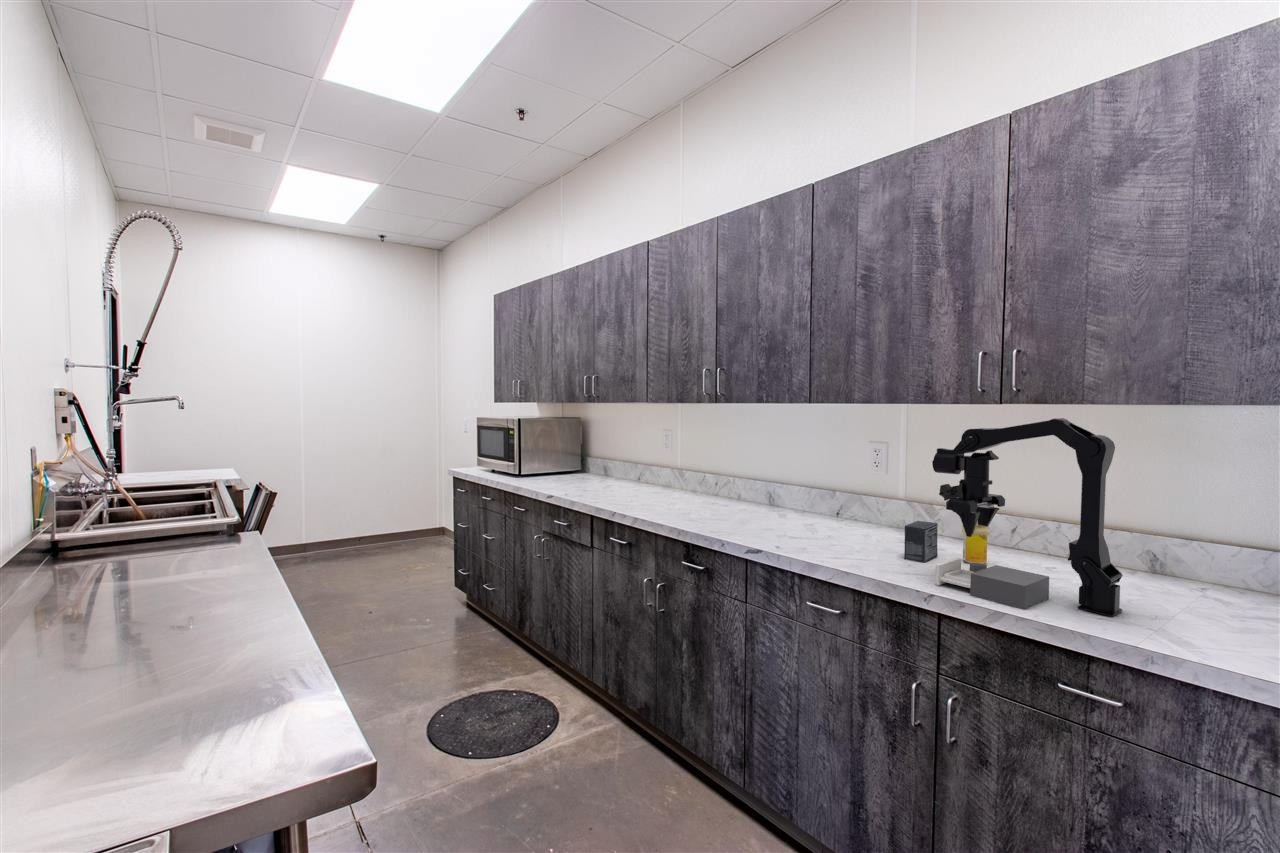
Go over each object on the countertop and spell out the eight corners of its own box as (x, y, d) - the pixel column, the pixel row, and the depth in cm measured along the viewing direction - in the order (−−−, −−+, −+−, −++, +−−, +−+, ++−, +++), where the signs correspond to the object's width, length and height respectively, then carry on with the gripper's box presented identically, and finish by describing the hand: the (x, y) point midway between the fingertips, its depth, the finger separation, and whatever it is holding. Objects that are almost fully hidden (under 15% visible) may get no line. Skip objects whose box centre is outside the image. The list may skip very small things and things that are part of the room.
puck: (989, 578, 157) (989, 565, 157) (982, 580, 155) (982, 567, 154) (973, 574, 160) (974, 562, 160) (966, 577, 158) (966, 564, 158)
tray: (1004, 588, 148) (1004, 568, 148) (982, 596, 142) (983, 575, 141) (956, 577, 158) (957, 558, 157) (934, 584, 151) (935, 564, 151)
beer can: (989, 565, 169) (991, 514, 168) (966, 564, 170) (968, 513, 170) (982, 560, 175) (983, 510, 174) (959, 559, 176) (961, 509, 176)
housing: (1048, 598, 141) (1049, 576, 140) (1024, 609, 133) (1025, 586, 133) (995, 585, 151) (995, 565, 150) (970, 595, 143) (970, 573, 143)
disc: (992, 533, 153) (993, 527, 153) (981, 536, 150) (981, 529, 150) (969, 529, 158) (969, 523, 158) (957, 531, 155) (957, 525, 155)
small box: (916, 552, 184) (916, 519, 183) (938, 556, 179) (938, 522, 179) (902, 559, 176) (903, 524, 176) (925, 563, 172) (926, 528, 171)
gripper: (964, 471, 165) (963, 525, 166) (926, 475, 155) (925, 534, 155) (1006, 474, 156) (1005, 533, 156) (969, 480, 145) (968, 542, 146)
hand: (975, 535), depth 154 cm, fingers closed on disc, 6 cm apart
